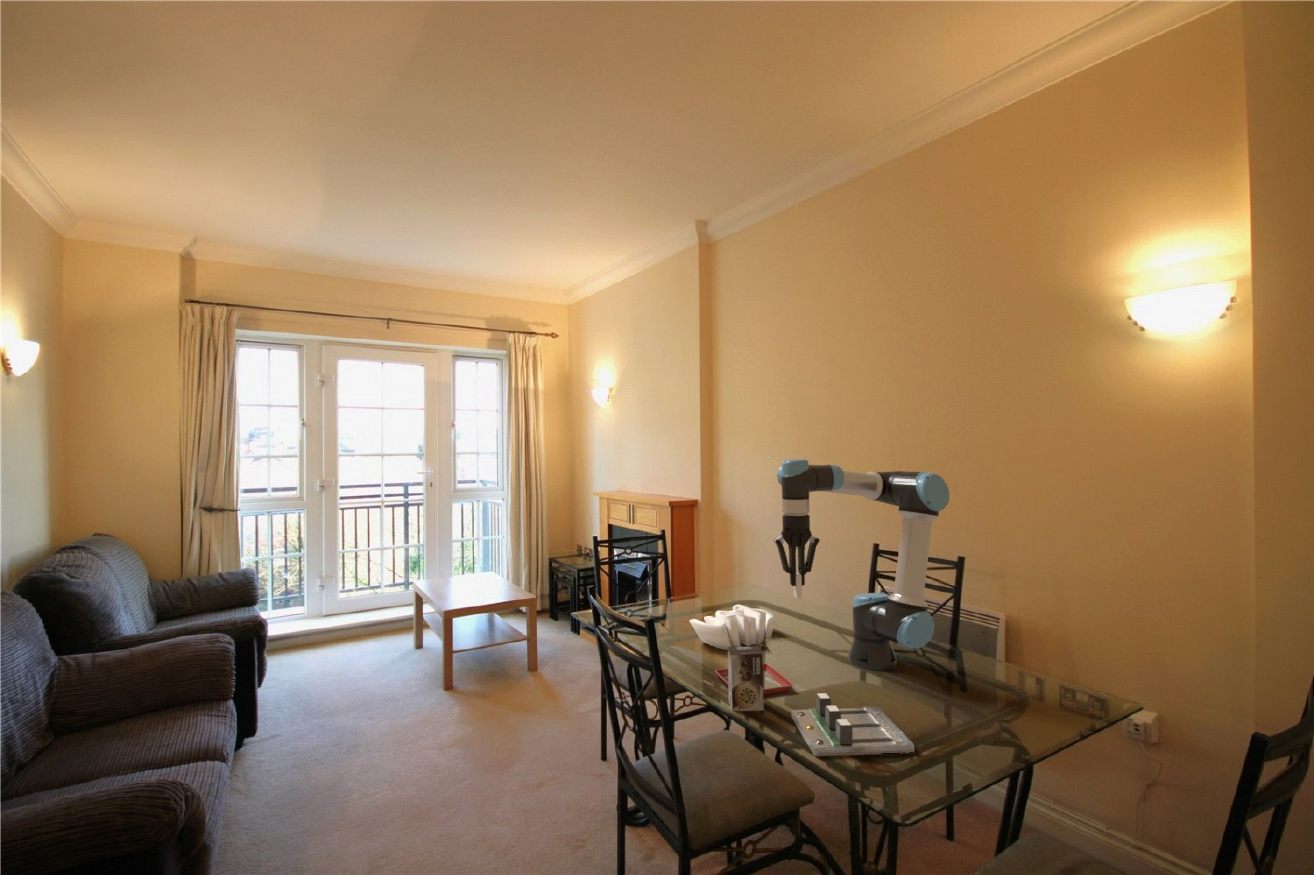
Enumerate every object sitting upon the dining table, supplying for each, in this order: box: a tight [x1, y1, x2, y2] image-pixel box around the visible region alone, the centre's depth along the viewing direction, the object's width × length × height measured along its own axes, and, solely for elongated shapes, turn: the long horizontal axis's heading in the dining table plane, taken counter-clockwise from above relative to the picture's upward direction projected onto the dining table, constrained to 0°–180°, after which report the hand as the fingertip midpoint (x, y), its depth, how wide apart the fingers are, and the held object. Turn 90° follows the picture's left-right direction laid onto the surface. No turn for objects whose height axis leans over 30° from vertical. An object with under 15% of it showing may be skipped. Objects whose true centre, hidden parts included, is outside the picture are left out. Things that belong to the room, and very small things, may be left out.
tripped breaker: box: [825, 705, 841, 729], centre depth 150 cm, size 3×3×4 cm
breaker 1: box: [815, 692, 832, 715], centre depth 157 cm, size 3×3×4 cm
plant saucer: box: [714, 663, 794, 695], centre depth 180 cm, size 18×18×3 cm
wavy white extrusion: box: [689, 604, 776, 651], centre depth 224 cm, size 35×16×11 cm, turn 121°
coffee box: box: [727, 645, 765, 712], centre depth 166 cm, size 9×6×16 cm
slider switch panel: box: [790, 705, 915, 757], centre depth 150 cm, size 24×20×3 cm
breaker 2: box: [836, 719, 853, 744], centre depth 142 cm, size 3×3×4 cm
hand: (797, 596), depth 167 cm, fingers closed
